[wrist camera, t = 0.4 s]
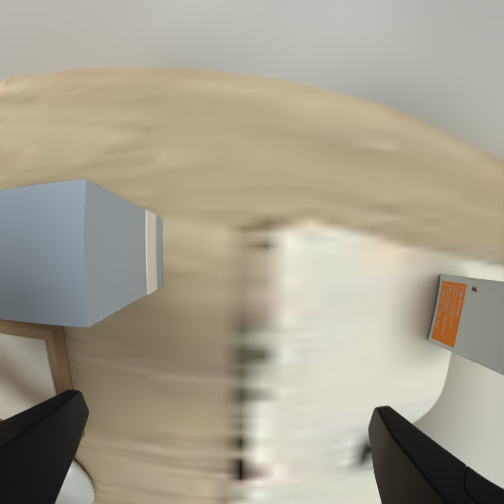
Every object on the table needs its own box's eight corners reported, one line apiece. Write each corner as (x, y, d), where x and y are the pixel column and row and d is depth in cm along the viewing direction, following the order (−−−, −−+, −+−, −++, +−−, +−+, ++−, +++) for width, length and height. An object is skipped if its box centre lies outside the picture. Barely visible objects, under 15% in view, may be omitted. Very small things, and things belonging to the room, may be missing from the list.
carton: (164, 285, 21) (90, 329, 8) (97, 285, 20) (-18, 317, 8) (163, 218, 21) (87, 176, 8) (96, 221, 20) (-21, 193, 8)
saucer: (108, 508, 20) (104, 518, 18) (38, 489, 19) (33, 497, 17) (83, 446, 20) (77, 456, 18) (11, 427, 19) (3, 433, 17)
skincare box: (438, 273, 23) (551, 284, 11) (469, 278, 23) (572, 289, 11) (425, 343, 23) (527, 387, 11) (456, 343, 23) (552, 379, 11)
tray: (84, 434, 20) (76, 446, 18) (3, 413, 19) (-7, 421, 17) (62, 325, 20) (50, 331, 18) (-19, 316, 19) (-32, 320, 17)
